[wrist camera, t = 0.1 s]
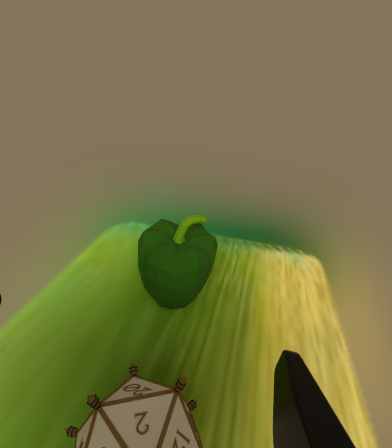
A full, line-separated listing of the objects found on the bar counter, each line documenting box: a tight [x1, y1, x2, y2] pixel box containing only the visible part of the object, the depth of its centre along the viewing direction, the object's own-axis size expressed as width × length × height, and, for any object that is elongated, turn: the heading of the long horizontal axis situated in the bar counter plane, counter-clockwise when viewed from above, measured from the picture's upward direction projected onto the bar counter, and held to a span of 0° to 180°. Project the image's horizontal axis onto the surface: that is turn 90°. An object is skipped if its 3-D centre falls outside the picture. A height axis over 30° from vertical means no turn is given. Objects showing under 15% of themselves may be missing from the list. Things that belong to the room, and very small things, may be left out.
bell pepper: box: [138, 214, 217, 309], centre depth 31 cm, size 8×8×10 cm
